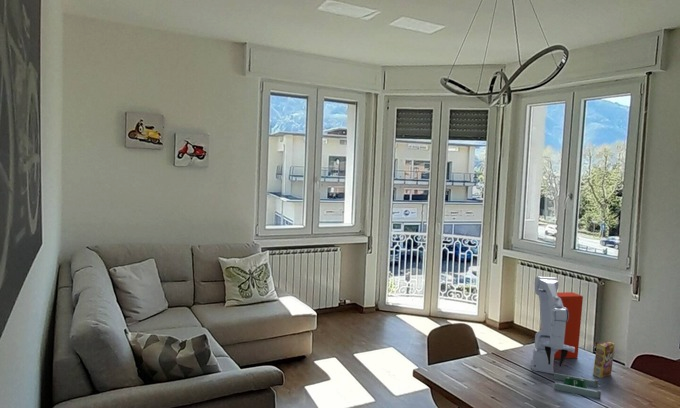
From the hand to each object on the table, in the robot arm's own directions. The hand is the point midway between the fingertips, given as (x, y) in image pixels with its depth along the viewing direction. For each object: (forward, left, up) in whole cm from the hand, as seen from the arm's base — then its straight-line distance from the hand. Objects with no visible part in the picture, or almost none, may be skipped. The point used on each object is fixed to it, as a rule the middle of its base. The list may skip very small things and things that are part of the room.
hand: (554, 364), depth 215 cm
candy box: (+22, +21, -9) cm, 31 cm away
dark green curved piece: (+9, -1, -9) cm, 12 cm away
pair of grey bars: (+9, 0, -8) cm, 12 cm away
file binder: (+3, +36, -9) cm, 37 cm away
